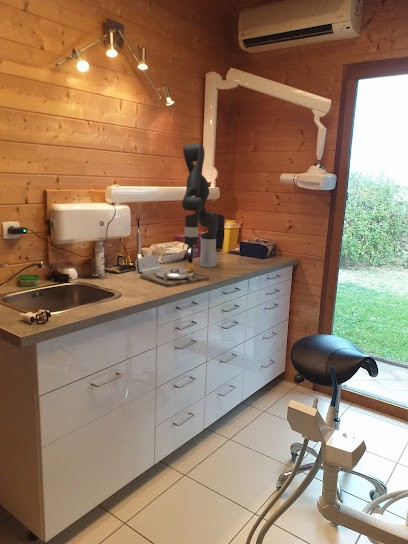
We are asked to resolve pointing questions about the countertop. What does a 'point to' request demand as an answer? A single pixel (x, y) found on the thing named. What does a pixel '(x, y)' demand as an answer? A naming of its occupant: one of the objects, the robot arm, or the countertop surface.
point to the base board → (172, 282)
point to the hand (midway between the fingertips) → (190, 266)
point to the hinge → (147, 264)
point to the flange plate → (177, 272)
